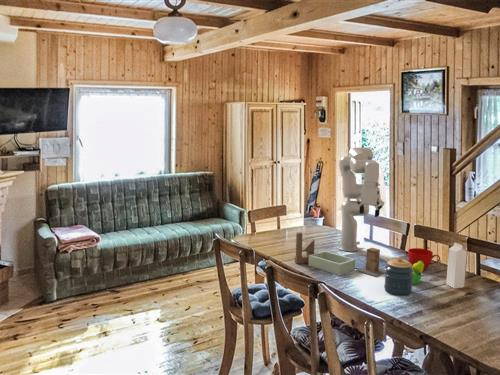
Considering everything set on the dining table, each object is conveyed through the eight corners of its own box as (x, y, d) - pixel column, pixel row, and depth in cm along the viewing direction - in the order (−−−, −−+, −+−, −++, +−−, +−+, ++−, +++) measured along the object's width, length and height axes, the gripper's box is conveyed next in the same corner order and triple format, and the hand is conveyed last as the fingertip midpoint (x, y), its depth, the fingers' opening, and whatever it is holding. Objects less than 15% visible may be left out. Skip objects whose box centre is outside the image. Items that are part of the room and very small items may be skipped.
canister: (408, 298, 215) (410, 262, 212) (380, 292, 222) (382, 257, 219) (414, 290, 226) (416, 255, 223) (388, 284, 233) (390, 251, 230)
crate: (323, 260, 272) (324, 250, 271) (354, 269, 255) (355, 259, 254) (308, 265, 262) (308, 255, 261) (339, 275, 246) (339, 264, 245)
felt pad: (369, 266, 262) (369, 265, 262) (389, 271, 252) (389, 270, 252) (355, 271, 253) (355, 269, 253) (375, 277, 244) (376, 276, 244)
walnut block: (370, 268, 256) (372, 247, 254) (378, 270, 253) (379, 249, 251) (365, 270, 253) (366, 249, 251) (373, 272, 249) (374, 251, 247)
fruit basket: (404, 277, 244) (405, 256, 243) (422, 278, 242) (423, 258, 240) (405, 284, 234) (406, 263, 232) (423, 286, 231) (425, 264, 229)
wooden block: (313, 262, 267) (314, 232, 264) (296, 264, 264) (297, 233, 262) (311, 261, 270) (312, 231, 268) (294, 262, 268) (295, 232, 265)
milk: (456, 283, 235) (459, 241, 232) (464, 287, 230) (467, 245, 226) (445, 284, 234) (449, 242, 231) (453, 288, 228) (457, 245, 225)
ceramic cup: (439, 274, 249) (440, 256, 248) (406, 270, 255) (408, 253, 253) (438, 267, 261) (440, 250, 260) (407, 263, 267) (408, 247, 266)
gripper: (388, 185, 246) (386, 216, 249) (361, 181, 258) (359, 211, 261) (381, 187, 241) (379, 219, 244) (353, 183, 253) (352, 213, 256)
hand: (369, 215), depth 253 cm, fingers open, 9 cm apart
